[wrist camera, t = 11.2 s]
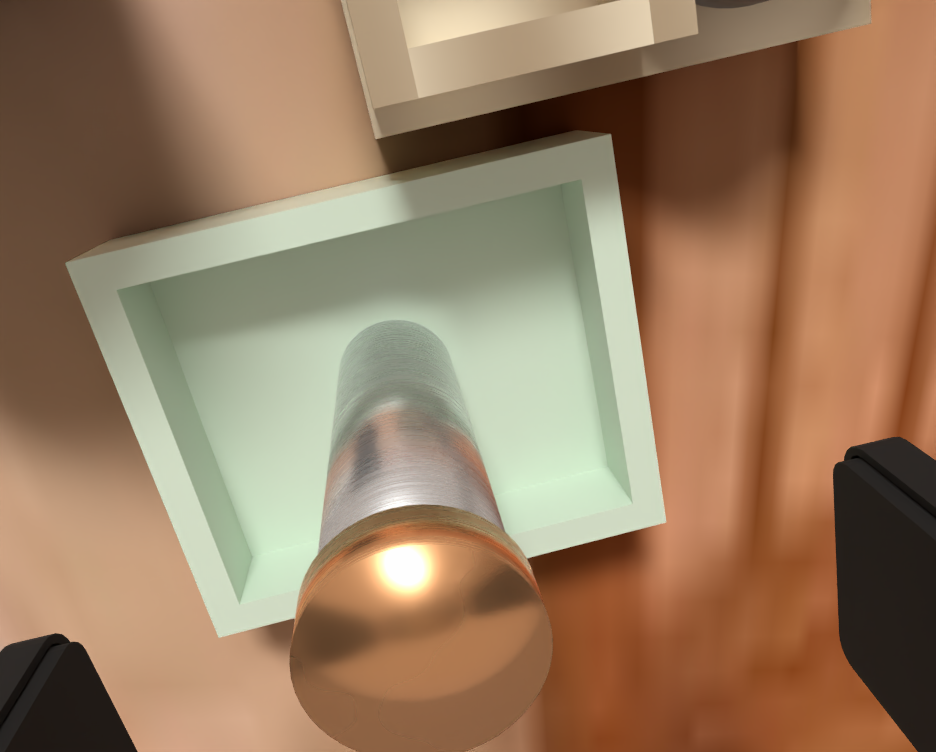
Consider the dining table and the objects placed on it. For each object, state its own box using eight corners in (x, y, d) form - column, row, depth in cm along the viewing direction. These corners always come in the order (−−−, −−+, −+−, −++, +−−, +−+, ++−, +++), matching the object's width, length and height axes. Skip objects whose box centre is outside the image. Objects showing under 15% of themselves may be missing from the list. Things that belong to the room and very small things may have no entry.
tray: (575, 130, 19) (610, 134, 17) (630, 471, 23) (666, 522, 20) (110, 239, 19) (65, 262, 16) (237, 571, 22) (218, 637, 20)
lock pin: (444, 298, 20) (526, 515, 9) (472, 416, 21) (572, 723, 11) (315, 329, 19) (253, 585, 9) (350, 446, 21) (331, 787, 10)
